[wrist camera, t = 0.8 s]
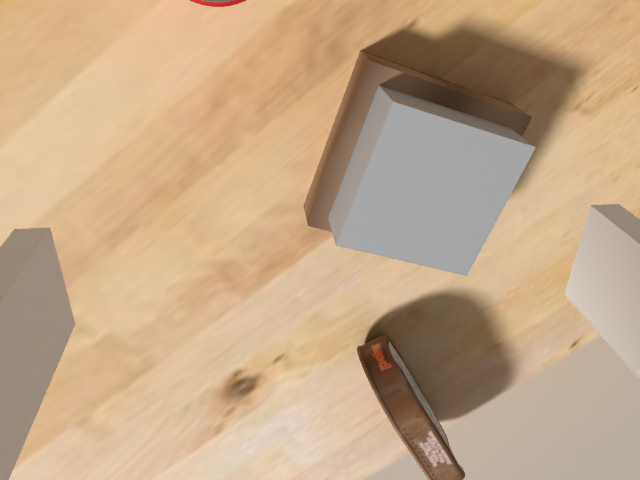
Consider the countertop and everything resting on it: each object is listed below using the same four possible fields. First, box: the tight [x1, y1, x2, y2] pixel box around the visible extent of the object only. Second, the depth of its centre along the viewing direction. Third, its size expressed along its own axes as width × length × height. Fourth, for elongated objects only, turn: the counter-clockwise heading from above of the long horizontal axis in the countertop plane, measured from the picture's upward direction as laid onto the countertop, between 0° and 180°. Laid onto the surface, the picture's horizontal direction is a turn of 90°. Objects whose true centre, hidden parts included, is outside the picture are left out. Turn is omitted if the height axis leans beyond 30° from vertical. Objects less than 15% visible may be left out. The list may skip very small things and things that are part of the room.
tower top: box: [328, 85, 536, 276], centre depth 33 cm, size 9×9×4 cm
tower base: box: [304, 51, 532, 232], centre depth 36 cm, size 11×11×4 cm
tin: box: [357, 335, 465, 480], centre depth 44 cm, size 15×3×8 cm, turn 27°
